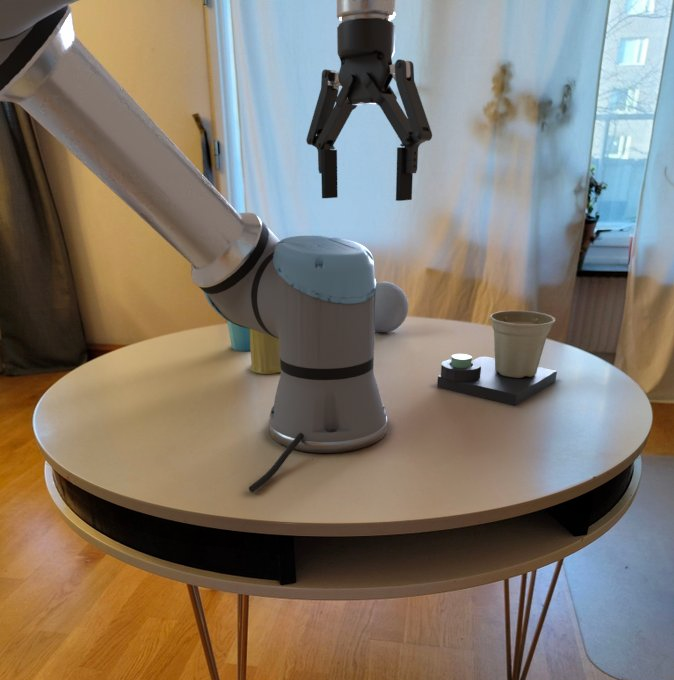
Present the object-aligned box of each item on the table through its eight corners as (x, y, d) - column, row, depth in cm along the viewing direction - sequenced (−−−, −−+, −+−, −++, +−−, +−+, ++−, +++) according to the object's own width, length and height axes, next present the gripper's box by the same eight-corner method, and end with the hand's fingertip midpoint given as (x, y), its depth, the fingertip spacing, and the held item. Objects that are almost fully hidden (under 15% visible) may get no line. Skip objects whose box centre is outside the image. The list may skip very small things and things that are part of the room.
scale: (513, 406, 86) (516, 383, 85) (432, 387, 94) (434, 365, 93) (555, 380, 96) (558, 359, 95) (479, 365, 104) (481, 344, 103)
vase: (282, 362, 107) (278, 278, 101) (291, 372, 102) (286, 285, 96) (248, 365, 106) (241, 281, 99) (254, 376, 100) (248, 287, 94)
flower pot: (540, 364, 99) (548, 310, 95) (553, 383, 90) (562, 324, 86) (481, 363, 100) (486, 309, 96) (488, 381, 91) (494, 324, 87)
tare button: (464, 370, 91) (465, 360, 91) (447, 367, 93) (447, 357, 93) (474, 366, 93) (475, 356, 93) (457, 362, 95) (458, 352, 95)
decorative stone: (362, 325, 131) (362, 277, 127) (409, 326, 129) (411, 278, 125) (355, 337, 122) (355, 286, 118) (405, 338, 120) (407, 287, 116)
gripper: (465, 11, 74) (454, 199, 83) (315, 38, 89) (318, 195, 98) (431, 0, 69) (423, 202, 78) (277, 31, 84) (285, 198, 93)
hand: (365, 199), depth 88 cm, fingers open, 13 cm apart
